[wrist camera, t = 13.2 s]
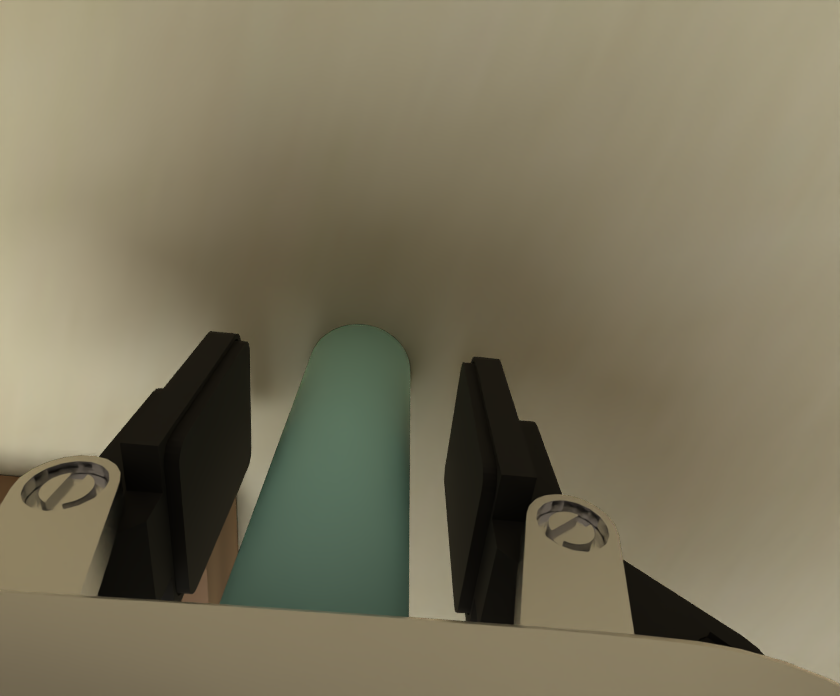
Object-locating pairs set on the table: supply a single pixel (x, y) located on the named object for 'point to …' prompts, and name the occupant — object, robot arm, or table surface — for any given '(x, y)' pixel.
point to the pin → (336, 487)
